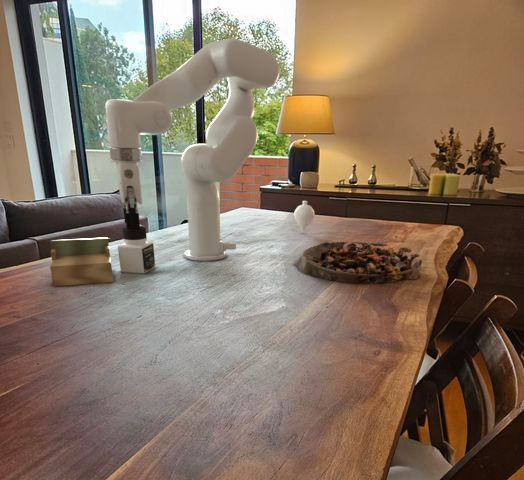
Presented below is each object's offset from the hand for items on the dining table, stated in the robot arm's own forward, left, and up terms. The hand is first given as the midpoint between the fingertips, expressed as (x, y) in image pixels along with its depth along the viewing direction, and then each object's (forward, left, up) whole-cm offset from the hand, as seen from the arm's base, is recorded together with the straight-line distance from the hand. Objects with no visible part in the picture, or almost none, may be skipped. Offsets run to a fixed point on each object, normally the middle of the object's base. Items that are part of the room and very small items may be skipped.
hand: (132, 226), depth 121 cm
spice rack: (+14, +4, -12) cm, 19 cm away
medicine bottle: (0, 0, -12) cm, 12 cm away
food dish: (-60, +15, -12) cm, 63 cm away
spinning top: (-65, -36, -12) cm, 76 cm away
